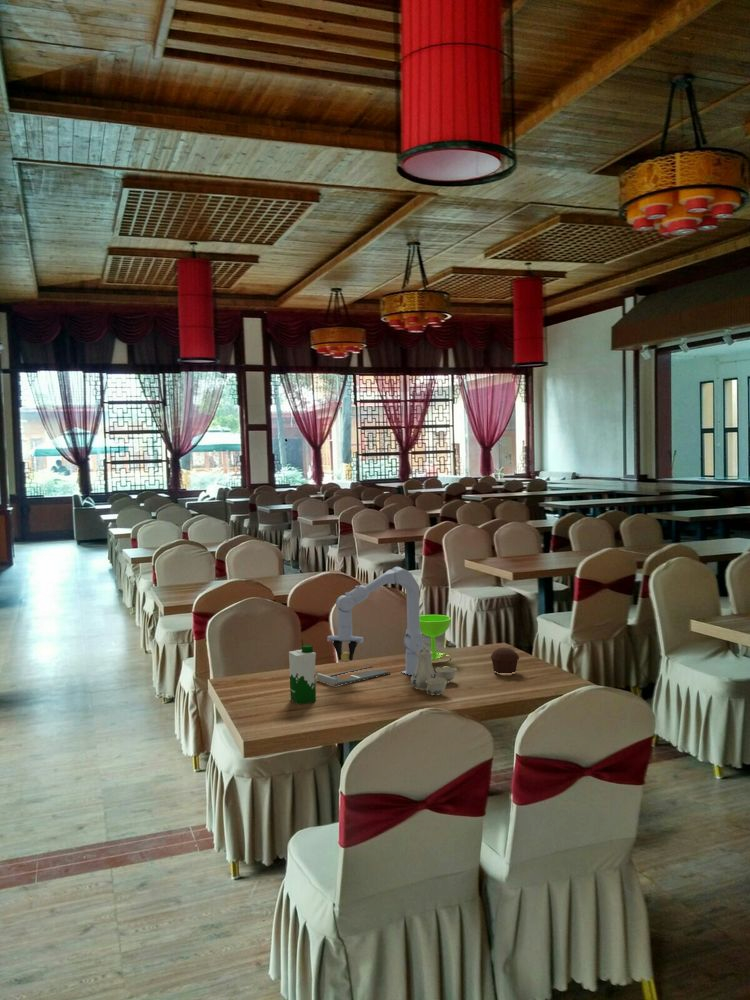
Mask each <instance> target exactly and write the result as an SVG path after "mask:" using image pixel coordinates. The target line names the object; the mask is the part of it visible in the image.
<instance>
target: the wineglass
mask: <svg viewBox="0 0 750 1000" xmlns="http://www.w3.org/2000/svg"><path fill="white" fill-rule="evenodd" d="M451 623H452V619H451V617H450V616H448V615H445V614H444V615H443V614H423V615H420V631H421V633H422V635H424V636H427V637H430V651H431V652H433V653H432V659H435V660H433V661H436V659H437V658H440V657H442V656H441V655H443V654H445V653H443V652H437V650H436V637H439V636H442V635H443V634H445V633H446V632H447V630H448V629H449V628H450V625H451ZM438 653H439V654H438ZM446 656H450V655H449V654H447V655H446ZM439 660H441V659H439Z"/></svg>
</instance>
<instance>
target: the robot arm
mask: <svg viewBox="0 0 750 1000" xmlns="http://www.w3.org/2000/svg"><path fill="white" fill-rule="evenodd" d="M396 583H397V584H398V585H400V586H401V587H402V588H403V589H405V590H406V630H405V635H404V637H403V645H404V646H405V648H406V649H405V650H404V651H405V652H404V653H405V659H404V660H405V670H403V671H401V672H402V673H401V674H404V673H405V674H404V675H407V674H408V676H410V675H413V674H414V672H415V670H416V666H417V654H416V652H418V651H420V650H421V649H423V648H422V647H423V646H425V644H426V643H425V641H424V639H423V633H421V631H420V616H421V615H420V586H419V585H420V584H418V582H417V580H416V579H415V577H414V575H413V573H412V572H410V571H408V570H407V569H405V568H402V567H401V566H394V567H393V568H391V569H389V570H386V571H385V572H384V573H382V574H381V575H379V576H378V577H376V578H375V579H373V580H372V581H371V582H369V583H367V584H365V585H364V584H363V585H361V584H360V585H355V588H354V589H351V590H350V591H346V592H345V593H344V594H345V595H343V594H342V595H340V596H339V597H338V598H337V599H336V602H335V606H336V608H337V635H327V637H326V640H327V642H332V646H333V647H334V649H335V651H336V653H337V658H338V660H339V661H340V660H341V654H342V653H343V652H342V650H343V649H342V648H343V643H347V642H348V644H347V645H348V653H349V659H350V660H349V661H352V660H353V659H354V654H355V650H356V648H357V645H358V643H360V644H362V643H364V636H357V635H353V614H352V613H353V611H352V610H353V608H354V606H356V605H358V604H359V603H361V602H363V601H364V600H366V599H368V598H369V595H370V593H372V592H373V591H376V590H377V589H379V588H381V587H383V586H385V585H387V584H389V585H390V584H391V585H392V584H393V585H396ZM425 647H426V646H425ZM341 661H342V660H341Z"/></svg>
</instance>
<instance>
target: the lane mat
mask: <svg viewBox="0 0 750 1000" xmlns="http://www.w3.org/2000/svg"><path fill="white" fill-rule="evenodd" d="M372 667H373V668H374V665H369V666H365V667H360V668H355V669H352V670H351V669H350V670H346V671H343V672H338V673H333V674H328V675H327V674H326V675H325V674H323V673H321V672H318V673H316V681H317V680H319V681H322V682H325V683H328V684H331V685H333V686H338V685H341V684H345V683H350V682H354V681H359V680H363V679H367V678H371V679H373V678H372V677H376V676H380V675H384V674H388V673H390V674H391V671H390V670H387V671H386V670H384V669H380V671H378V670H373V671H366V673H360V675H358V674H357V673H355V675H350V676H352V677H350V678H349V679H348V678H347V679H344V680H341V678H340V679H339V678H337V675H341V674H345V673H348V672H354V671H358V670H362V669H367V668H372ZM388 675H389V674H388ZM333 676H336V677H333ZM384 676H385V675H384ZM380 677H381V676H380ZM376 678H377V677H376ZM367 680H368V679H367ZM363 681H364V680H363ZM359 682H360V681H359ZM333 686H332V687H333ZM338 687H339V686H338Z"/></svg>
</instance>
